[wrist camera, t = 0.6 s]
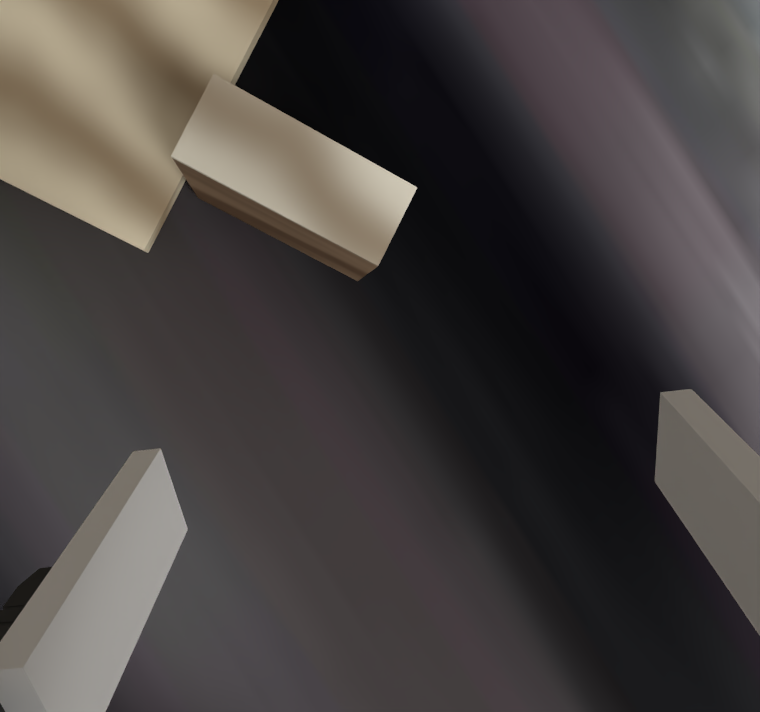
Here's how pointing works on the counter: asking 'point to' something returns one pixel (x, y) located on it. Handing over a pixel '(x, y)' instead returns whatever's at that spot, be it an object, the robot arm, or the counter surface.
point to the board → (112, 99)
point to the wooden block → (290, 180)
